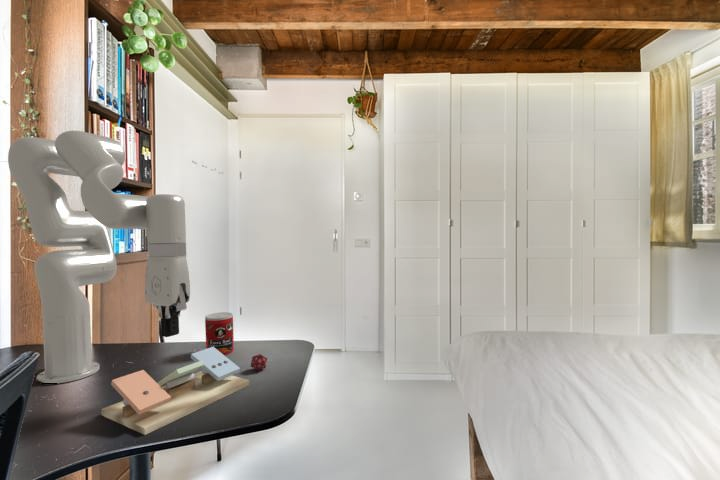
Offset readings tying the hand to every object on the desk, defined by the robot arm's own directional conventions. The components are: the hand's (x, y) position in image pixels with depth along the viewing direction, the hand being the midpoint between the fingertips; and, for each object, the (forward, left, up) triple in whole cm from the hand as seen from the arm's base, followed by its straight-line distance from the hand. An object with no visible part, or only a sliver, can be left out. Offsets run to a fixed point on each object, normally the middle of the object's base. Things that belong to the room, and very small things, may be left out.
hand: (170, 335), depth 83 cm
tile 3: (+4, +8, -9) cm, 13 cm away
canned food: (-14, +24, -13) cm, 31 cm away
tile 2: (+4, -1, -9) cm, 10 cm away
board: (+4, -1, -13) cm, 14 cm away
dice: (+7, +19, -13) cm, 24 cm away
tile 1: (+4, -9, -9) cm, 14 cm away
